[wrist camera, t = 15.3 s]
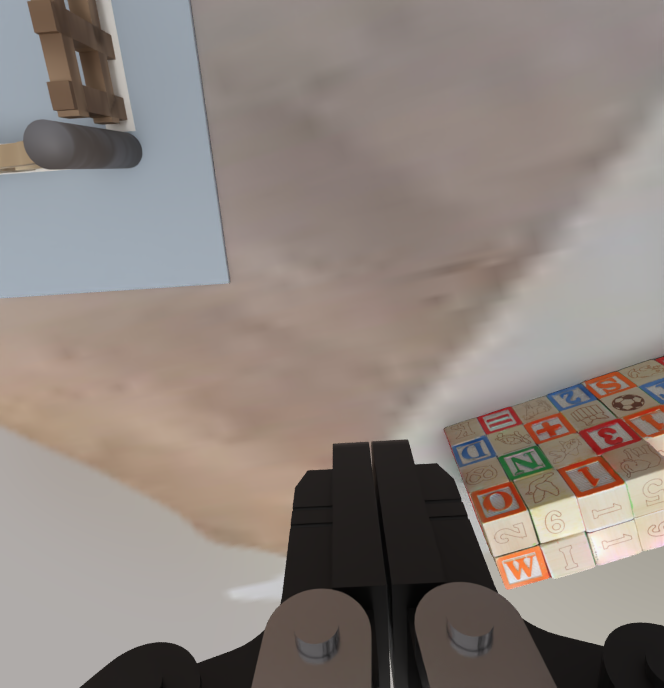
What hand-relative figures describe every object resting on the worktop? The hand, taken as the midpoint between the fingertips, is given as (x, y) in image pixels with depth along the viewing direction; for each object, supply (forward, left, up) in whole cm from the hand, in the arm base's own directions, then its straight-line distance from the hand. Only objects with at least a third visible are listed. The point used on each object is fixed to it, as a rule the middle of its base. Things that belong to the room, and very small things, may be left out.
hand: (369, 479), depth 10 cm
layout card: (-9, -21, -29) cm, 37 cm away
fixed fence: (-13, -15, -29) cm, 35 cm away
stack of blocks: (+16, +19, -29) cm, 38 cm away
